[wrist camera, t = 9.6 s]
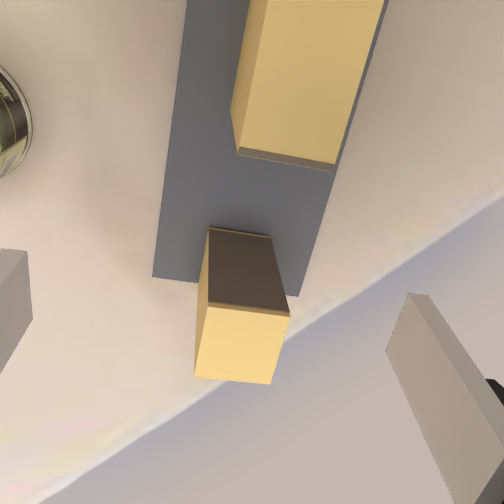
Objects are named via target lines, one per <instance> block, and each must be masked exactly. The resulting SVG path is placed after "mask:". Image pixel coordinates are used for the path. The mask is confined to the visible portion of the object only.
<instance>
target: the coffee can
mask: <svg viewBox="0 0 504 504" xmlns="http://www.w3.org/2000/svg"><path fill="white" fill-rule="evenodd" d="M31 137H32V122H31V116H30V112H29V108H28V106H27V103H26V100H25V98H24V96H23V94H22V93H21V91H20V89H19V88H18V86H17V85H16V83H15V82H14V80H13V79H12V78H11V77H10V76H9V75H8V74H7V73H6V72H5V71H4V70H3V69H2V68H1V67H0V178H1V177H3V176H4V175H5V174H7V173H9V172H10V171H12V170H13V169H14V168H15V167H17V166H18V165H19V163H20V162H21V161H22V160H23V158H24V157H25V155H26V153H27V151H28V149H29V146H30V142H31Z"/></svg>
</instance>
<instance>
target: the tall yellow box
mask: <svg viewBox="0 0 504 504" xmlns="http://www.w3.org/2000/svg"><path fill="white" fill-rule="evenodd" d="M383 3H384V0H250V3H249V8H248V14H247V19H246V25H245V30H244V36H243V41H242V47H241V52H240V58H239V63H238V68H237V74H236V79H235V85H234V90H233V96H232V101H231V107H230V117H231V122H232V128H233V134H234V140H235V146H236V152H237V154H238V155H243V156H248V157H254V158H259V159H264V160H270V161H275V162H281V163H286V164H291V165H297V166H302V167H308V168H313V169H318V170H324V171H329V172H334V168H335V163H336V159H337V156H338V153H339V149H340V146H341V143H342V139H343V136H344V133H345V129H346V126H347V123H348V119H349V116H350V113H351V109H352V106H353V103H354V99H355V96H356V93H357V89H358V86H359V83H360V79H361V76H362V73H363V70H364V66H365V63H366V60H367V56H368V53H369V50H370V46H371V43H372V40H373V36H374V33H375V30H376V26H377V23H378V20H379V16H380V13H381V10H382V6H383Z"/></svg>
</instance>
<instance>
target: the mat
mask: <svg viewBox="0 0 504 504" xmlns="http://www.w3.org/2000/svg"><path fill="white" fill-rule="evenodd" d="M388 1H389V0H384V3H383V6H382V10H381V13H380V16H379V20H378V23H377V26H376V30H375V33H374V36H373V40H372V43H371V46H370V50H369V53H368V56H367V60H366V63H365V66H364V70H363V73H362V76H361V79H360V83H359V86H358V89H357V93H356V96H355V99H354V103H353V106H352V109H351V113H350V116H349V119H348V123H347V126H346V129H345V133H344V136H343V139H342V143H341V146H340V149H339V153H338V156H337V159H336V163H335V168H334V172H329V171H324V170H318V169H313V168H308V167H302V166H297V165H291V164H286V163H281V162H275V161H270V160H264V159H259V158H254V157H248V156H243V155H238V154H237V152H236V146H235V140H234V134H233V128H232V122H231V117H230V107H231V101H232V96H233V90H234V85H235V79H236V74H237V68H238V63H239V58H240V52H241V47H242V41H243V36H244V30H245V25H246V19H247V14H248V8H249V3H250V0H188V2H187V10H186V17H185V25H184V33H183V41H182V49H181V56H180V64H179V72H178V80H177V87H176V95H175V103H174V111H173V119H172V126H171V134H170V142H169V150H168V158H167V165H166V173H165V181H164V189H163V196H162V204H161V212H160V220H159V228H158V235H157V243H156V251H155V259H154V267H153V274H152V277H157V278H164V279H171V280H179V281H186V282H193V283H199V277H200V272H201V266H202V261H203V256H204V250H205V245H206V239H207V234H208V228H209V227H212V228H218V229H224V230H231V231H237V232H244V233H250V234H256V235H263V236H269V237H270V238H271V241H272V245H273V249H274V253H275V256H276V260H277V264H278V268H279V272H280V276H281V280H282V284H283V288H284V292H285V295H289V296H297V297H298V296H299V293H300V290H301V286H302V283H303V280H304V276H305V273H306V270H307V267H308V263H309V260H310V257H311V253H312V250H313V247H314V244H315V240H316V237H317V234H318V231H319V227H320V224H321V221H322V217H323V214H324V211H325V208H326V204H327V201H328V198H329V194H330V191H331V188H332V185H333V181H334V178H335V175H336V171H337V168H338V165H339V162H340V158H341V155H342V152H343V148H344V145H345V142H346V139H347V135H348V132H349V129H350V125H351V122H352V119H353V116H354V112H355V109H356V106H357V102H358V99H359V96H360V93H361V89H362V86H363V83H364V80H365V76H366V73H367V70H368V66H369V63H370V60H371V57H372V53H373V50H374V47H375V43H376V40H377V37H378V34H379V30H380V27H381V24H382V20H383V17H384V14H385V11H386V7H387V4H388Z"/></svg>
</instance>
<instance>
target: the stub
mask: <svg viewBox="0 0 504 504" xmlns="http://www.w3.org/2000/svg"><path fill="white" fill-rule="evenodd" d="M289 312H290V311H289V307H288V303H287V300H286V296H285V292H284V288H283V284H282V280H281V276H280V272H279V268H278V264H277V260H276V256H275V253H274V249H273V245H272V241H271V238H270V237H269V236H263V235H256V234H250V233H244V232H237V231H231V230H224V229H218V228H212V227H209V228H208V234H207V239H206V245H205V250H204V256H203V261H202V266H201V272H200V277H199V283H198V298H197V319H196V340H195V361H194V377H201V378H211V379H221V380H230V381H241V382H250V383H260V384H270V383H271V379H272V376H273V373H274V370H275V367H276V363H277V360H278V357H279V353H280V350H281V347H282V344H283V340H284V337H285V334H286V330H287V327H288V324H289V320H290V313H289Z"/></svg>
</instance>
